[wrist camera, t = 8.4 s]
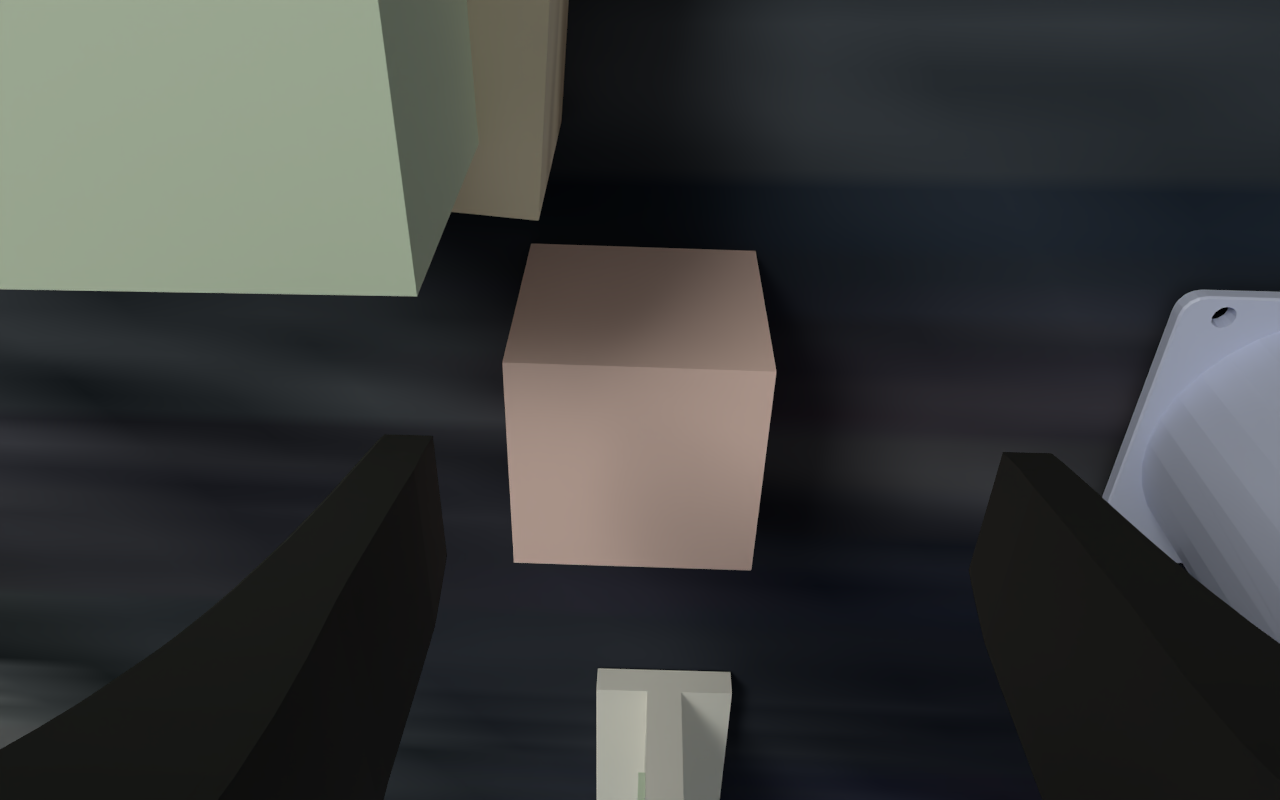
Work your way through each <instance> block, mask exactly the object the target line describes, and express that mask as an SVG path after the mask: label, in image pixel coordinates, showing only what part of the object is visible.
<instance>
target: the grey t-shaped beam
mask: <svg viewBox="0 0 1280 800" xmlns="http://www.w3.org/2000/svg"><path fill="white" fill-rule="evenodd" d="M731 698H732V687H731V673H730V672H709V671H674V670H639V669H603V668H598V674H597V800H720V792H721V784H722V775H723V767H724V758H725V749H726V741H727V732H728V724H729V715H730V706H731Z"/></svg>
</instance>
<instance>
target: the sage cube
mask: <svg viewBox="0 0 1280 800" xmlns="http://www.w3.org/2000/svg"><path fill="white" fill-rule="evenodd" d="M478 144H479V141H478V129H477V117H476V105H475V93H474V81H473V69H472V57H471V45H470V33H469V21H468V9H467V0H0V289H24V290H81V291H139V292H197V293H255V294H313V295H370V296H417V295H418V293H419V290H420V288H421V285H422V283H423V280H424V278H425V276H426V273H427V271H428V268H429V266H430V263H431V261H432V258H433V256H434V253H435V251H436V248H437V246H438V243H439V241H440V238H441V236H442V233H443V231H444V228H445V226H446V223H447V221H448V218H449V216H450V214H451V211H452V209H453V206H454V204H455V201H456V199H457V196H458V194H459V191H460V189H461V186H462V184H463V181H464V179H465V176H466V174H467V171H468V169H469V166H470V164H471V161H472V159H473V156H474V154H475V152H476V149H477V147H478Z"/></svg>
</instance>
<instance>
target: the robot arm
mask: <svg viewBox="0 0 1280 800" xmlns="http://www.w3.org/2000/svg"><path fill="white" fill-rule="evenodd" d="M1226 307H1228V309H1227V311H1226V312H1225V313H1224V314H1223V315H1222V316H1220V317H1219V318H1215V319H1212V316H1213V315H1214V314H1215V312H1216V311H1218V310H1220V309H1221V308H1226ZM446 557H447V553H446V545H445V536H444V528H443V519H442V511H441V502H440V494H439V485H438V477H437V468H436V460H435V451H434V443H433V436H418V435H384V436H383V437H381V438H380V439H379V440H378V441H377V442H376V443H375V444H374V445H373V446H372V448H371V449H370V450H369V451H368V452H367V453H366V454H365V455H364V456H363V458H362V459H361V460H360V461H359V462H358V463H357V464H356V465H355V467H354V468H353V469H352V470H351V471H350V472H349V473H348V474H347V476H346V477H345V478H344V479H343V480H342V481H341V482H340V483H339V484H338V485H337V487H336V488H335V489H334V490H333V491H332V492H331V493H330V494H329V495H328V496H327V497H326V498H325V500H324V501H323V502H322V503H321V504H320V505H319V506H318V507H317V508H316V509H315V510H314V511H313V512H312V513H311V514H310V515H309V516H308V517H307V518H306V519H305V520H304V521H303V522H302V524H301V525H300V526H299V527H298V528H297V529H296V530H295V531H294V532H293V533H292V534H291V535H290V536H289V537H288V538H287V539H286V540H285V541H284V542H283V543H282V544H281V545H280V546H279V547H278V548H277V549H276V550H275V551H274V552H273V553H272V554H270V555H269V556H268V557H267V558H266V559H265V560H264V561H263V562H262V563H261V564H260V565H259V566H258V567H256V568H255V569H254V570H253V571H252V572H251V573H250V574H249V575H248V576H247V577H246V578H245V579H244V580H242V581H241V582H240V583H239V584H238V585H237V586H236V587H235V588H234V589H233V590H232V591H230V592H229V593H228V594H227V595H226V596H225V597H223V598H222V599H221V600H220V601H219V602H218V603H216V604H215V605H214V606H213V607H212V608H211V609H209V610H208V611H207V612H206V613H205V614H203V615H202V616H201V617H200V618H198V619H197V620H196V621H195V622H194V623H192V624H191V625H190V626H188V627H187V628H186V629H185V630H183V631H182V632H181V633H179V634H178V635H177V636H176V637H174V638H173V639H172V640H170V641H169V642H168V643H166V644H165V645H164V646H162V647H161V648H160V649H158V650H157V651H156V652H154V653H153V654H151V655H150V656H148V657H147V658H145V659H144V660H142V661H141V662H139V663H138V664H136V665H135V666H134V667H132V668H131V669H129V670H128V671H126V672H125V673H123V674H122V675H120V676H119V677H117V678H116V679H114V680H113V681H111V682H110V683H108V684H107V685H106V686H104V687H103V688H101V689H100V690H98V691H97V692H95V693H94V694H92V695H91V696H89V697H88V698H86V699H85V700H83V701H82V702H80V703H78V704H77V705H75V706H74V707H72V708H70V709H69V710H67V711H65V712H64V713H62V714H60V715H59V716H57V717H55V718H54V719H52V720H50V721H49V722H47V723H46V724H44V725H42V726H41V727H39V728H37V729H35V730H34V731H32V732H30V733H28V734H27V735H25V736H23V737H21V738H20V739H18V740H16V741H14V742H13V743H11V744H9V745H7V746H6V747H4V748H2V749H0V800H384V796H385V792H386V788H387V784H388V780H389V777H390V774H391V770H392V767H393V764H394V760H395V757H396V754H397V751H398V747H399V744H400V741H401V737H402V734H403V731H404V728H405V724H406V721H407V718H408V714H409V711H410V708H411V705H412V701H413V698H414V695H415V691H416V688H417V685H418V682H419V678H420V675H421V671H422V668H423V665H424V661H425V658H426V655H427V651H428V648H429V645H430V641H431V638H432V634H433V631H434V627H435V623H436V617H437V611H438V606H439V600H440V594H441V588H442V582H443V576H444V569H445V563H446ZM1177 563H1183V565H1184V566H1185V568H1186V569H1187V571H1188V572H1187V571H1186V570H1184V569H1183V568H1182V567H1181V566H1180V565H1178V564H1177ZM969 574H970V579H971V583H972V588H973V593H974V598H975V603H976V608H977V613H978V617H979V621H980V625H981V630H982V634H983V638H984V642H985V645H986V648H987V651H988V654H989V657H990V659H991V662H992V665H993V668H994V670H995V673H996V676H997V679H998V681H999V684H1000V687H1001V690H1002V692H1003V695H1004V698H1005V701H1006V703H1007V706H1008V709H1009V711H1010V714H1011V717H1012V719H1013V722H1014V725H1015V728H1016V730H1017V733H1018V736H1019V738H1020V741H1021V744H1022V746H1023V749H1024V752H1025V754H1026V757H1027V760H1028V762H1029V765H1030V768H1031V770H1032V773H1033V776H1034V779H1035V781H1036V784H1037V787H1038V789H1039V792H1040V795H1041V797H1042V800H1280V292H1269V291H1234V290H1196V291H1192V292H1190V293H1187V294H1185V295H1184V296H1182V297H1181V298H1180V299H1179V300H1178V301H1177V302H1176V304H1175V305H1174V307H1173V309H1172V311H1171V314H1170V317H1169V319H1168V322H1167V325H1166V327H1165V330H1164V333H1163V335H1162V338H1161V341H1160V343H1159V346H1158V349H1157V352H1156V354H1155V357H1154V360H1153V362H1152V365H1151V368H1150V370H1149V373H1148V376H1147V378H1146V381H1145V384H1144V386H1143V389H1142V392H1141V394H1140V397H1139V400H1138V402H1137V405H1136V408H1135V410H1134V413H1133V416H1132V418H1131V421H1130V424H1129V426H1128V429H1127V432H1126V434H1125V437H1124V440H1123V442H1122V445H1121V448H1120V450H1119V453H1118V456H1117V459H1116V461H1115V464H1114V467H1113V469H1112V472H1111V475H1110V477H1109V480H1108V483H1107V485H1106V488H1105V491H1104V493H1103V496H1102V497H1101V496H1100V495H1099V494H1098V493H1097V492H1096V491H1094V490H1093V489H1092V488H1091V487H1090V486H1089V485H1088V484H1087V483H1085V482H1084V481H1083V480H1082V479H1081V478H1080V477H1079V476H1078V475H1076V474H1075V473H1074V472H1073V471H1072V470H1071V469H1070V468H1068V467H1067V466H1066V465H1065V464H1064V463H1063V462H1061V461H1060V460H1059V459H1058V458H1056V457H1055V456H1054V455H1053V454H1050V453H1015V452H1003V454H1002V458H1001V461H1000V465H999V468H998V472H997V475H996V479H995V482H994V485H993V489H992V492H991V496H990V499H989V503H988V506H987V509H986V513H985V516H984V520H983V523H982V527H981V530H980V534H979V537H978V540H977V544H976V547H975V551H974V554H973V558H972V561H971V565H970V568H969Z"/></svg>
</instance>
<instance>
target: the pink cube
mask: <svg viewBox="0 0 1280 800" xmlns="http://www.w3.org/2000/svg"><path fill="white" fill-rule="evenodd" d="M502 365H503V382H504V399H505V416H506V433H507V451H508V468H509V485H510V502H511V519H512V536H513V554H514V563H544V564H574V565H604V566H634V567H664V568H694V569H724V570H751V568H752V560H753V553H754V545H755V537H756V529H757V521H758V513H759V505H760V497H761V490H762V482H763V474H764V466H765V458H766V450H767V442H768V435H769V427H770V419H771V411H772V403H773V395H774V387H775V379H776V366H775V360H774V354H773V349H772V343H771V337H770V331H769V325H768V320H767V314H766V308H765V302H764V297H763V291H762V285H761V279H760V273H759V268H758V262H757V256H756V251H741V250H711V249H681V248H651V247H621V246H591V245H561V244H531V246H530V250H529V254H528V258H527V263H526V267H525V271H524V275H523V279H522V283H521V287H520V292H519V296H518V300H517V304H516V308H515V312H514V316H513V320H512V325H511V329H510V333H509V337H508V341H507V345H506V349H505V354H504V358H503V362H502Z"/></svg>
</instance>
